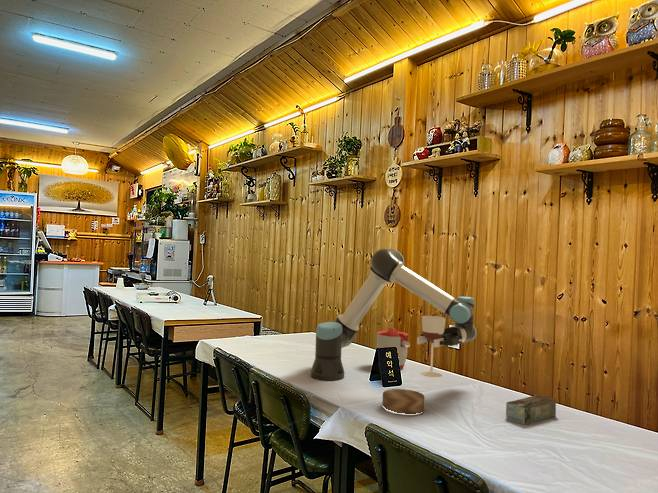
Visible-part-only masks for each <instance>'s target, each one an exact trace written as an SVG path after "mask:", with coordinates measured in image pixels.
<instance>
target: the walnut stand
mask: <svg viewBox="0 0 658 493" xmlns="http://www.w3.org/2000/svg"><path fill="white" fill-rule="evenodd" d="M425 397H426V396H425V395H424V394H423V393H421V392H419V391H416V390H413V389H412V390H411V389H405V388H404V389H403V388H392V389H387V390H386V389H385V390H384V391H383V392H382V402H381V403H382V405H383V406H384V407H385V408H386V409H388V410H391V411H394V412H397V413H405V414H416V413H421V412H423V411H424V412H425ZM382 405H381V406H382ZM424 412H423V413H424Z"/></svg>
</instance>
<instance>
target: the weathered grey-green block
mask: <svg viewBox="0 0 658 493" xmlns="http://www.w3.org/2000/svg"><path fill="white" fill-rule="evenodd" d="M505 405H506V406H505V414H506V416H505V417H506V420H509V419H510V421H512V420H513V422H515V421H516V422H515V423H518V424H520V425H521V424H522V425H523V426H525V424H526V425H529V424H533V423H535V422H538V421H542V420H546V419H549V418H552V417H557V416H556V415H557V400H556V399H555V398H552V397H548V396H543V395H540V394H535V395H531V396H527V397H523V398H520V399H517V400H511V401H507V402H506V404H505ZM532 422H533V423H532Z"/></svg>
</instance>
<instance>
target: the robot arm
mask: <svg viewBox="0 0 658 493" xmlns="http://www.w3.org/2000/svg"><path fill="white" fill-rule="evenodd" d="M370 263H371V264H370V265H371V266H370V268H369V272H370V273H369V275H368V277H367V278H366V279H365V281H364V282H363V284H362V286H361V287H360V289H359V290H358V292H357V293H356V295H355V296H354V298H353V299H352V300H351V302H350V303H349V305H348V307H347V308H346V309H345V311H344V313H342V314H338V316H337V317H336V319H334V321H326V322H321V323H318V324H317V326H316V330H315V355H314V361H313V363H312V366H311V370H310V376H312V377H311V378H313V377H314V378H313V379H316V378H318V379H317V380H320V379H323V380H322V381H338V380H343V379H344V378H345V370H344V366H343V361H342V349H343V348H345V347H348V346H350V345H351V344H352V343H353V342H354V341H355V338H356V334H357V333H358V332H359V330H360V327H359V325H360V323H361V322H362V320H363V318H364V317H365V315H366V314H367V313H368V311H369V309H370V308H371V306H372V305H373V303H374V302H375V301H376V299H377V298H378V297H379V295H380V293H381V292H382V290H383V289H384V287H385V286H386V285H387V284H392V282H396V283H397V284H399V285H400V286H402V287H403V288H405V289H406V290H408V291H409V292H411V293H412V294H414V295H415V296H417V297H419V298H420V299H421V300H423V301H424V302H426V303H428V304H430V306H433V307H434V308H436V309H437V310H439V311H440V312H441V313H443V314H445V315H447V316H448V318H450V319H451V320H452V321H453V322H454V325H452V326H449V327H445V329H444V333H443V336H442V337H441V338H440V339H436V340H434V348H439V347H442V346H445V347H446V346H450V347H453V346H458V345H460V344H465V343H469V342H471V341H473V340H474V339H475V338H476V337H477V334H478V332H477V328H476V327H475V325H474V313H475V299H474V297H471V296H457V297H456V298H455V297H453V296H452V295H450V294H449V293H447V292H445V291H444V290H442V289H441V288H439V287H438V286H437V285H435V284H433V283H432V282H430V281H428V280H427V279H426V278H424V277H422V276H421V275H418V274H417V273H416V272H414V271H413V270H411V269H409V268H408V267H406V266H405V260H404V256H403V255H402V254H401V252H400V251H398V250H396V249H394V248H381V249H378V250H376V251H375V252H374V254H373V255H372V257H371V259H370ZM428 342H430V341H429V340H428V339H426V338H425V336H424V334H423V333H421V334H420V336H417V338H416V344H417V345H423V344H427V343H428Z"/></svg>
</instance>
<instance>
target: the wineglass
mask: <svg viewBox="0 0 658 493" xmlns="http://www.w3.org/2000/svg"><path fill="white" fill-rule="evenodd" d="M445 326H446V317H443V316H439V315H423V316H422V317H421V328H422V329H421V330H422V334H424V336H425V338H426V339H428V340H429V341H428V342H430V343H431V345H430V346H431V348H430V351H431V352H430V368H429V370H430V371H422V372H420V375H421V376H423V377H428V378H440V377H441V378H442V376H443V374H441V373H439V372H435V371H433V367H434V349H435V347H434V340H436V339H440V338H441V337H442V336H443V333H444V329H445V328H446V327H445Z"/></svg>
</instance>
